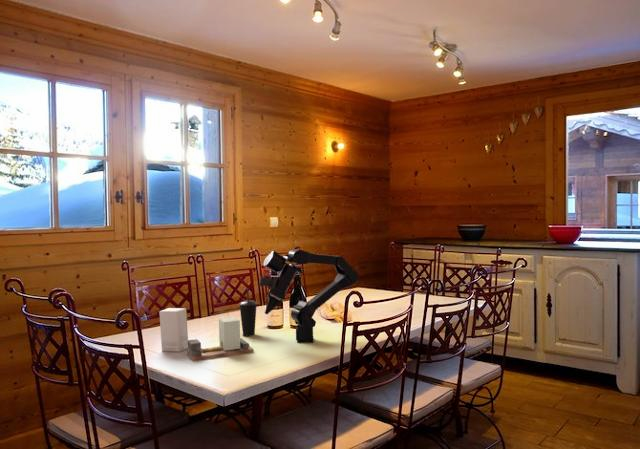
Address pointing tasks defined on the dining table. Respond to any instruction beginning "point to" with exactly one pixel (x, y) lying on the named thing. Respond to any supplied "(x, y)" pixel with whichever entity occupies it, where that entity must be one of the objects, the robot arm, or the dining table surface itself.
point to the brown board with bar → (214, 350)
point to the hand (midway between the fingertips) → (265, 313)
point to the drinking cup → (248, 316)
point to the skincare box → (174, 329)
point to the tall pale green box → (229, 333)
